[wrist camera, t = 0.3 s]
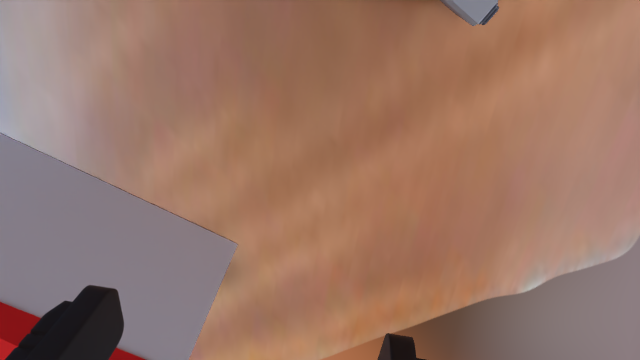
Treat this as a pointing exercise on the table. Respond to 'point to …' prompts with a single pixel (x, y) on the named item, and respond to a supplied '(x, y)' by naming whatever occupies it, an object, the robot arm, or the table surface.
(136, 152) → the table surface
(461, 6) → the gun
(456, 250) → the table surface
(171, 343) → the red-lidded white box
